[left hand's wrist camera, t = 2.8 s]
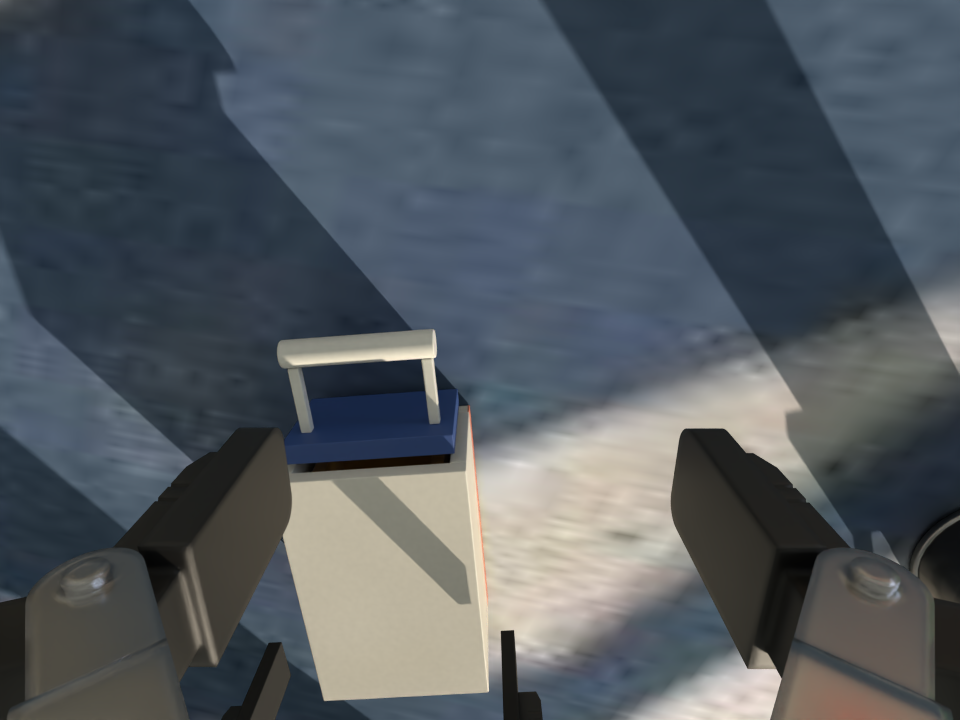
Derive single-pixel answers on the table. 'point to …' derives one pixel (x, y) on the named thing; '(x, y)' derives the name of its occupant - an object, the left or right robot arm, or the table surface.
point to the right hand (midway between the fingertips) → (393, 652)
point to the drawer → (369, 406)
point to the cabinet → (392, 576)
